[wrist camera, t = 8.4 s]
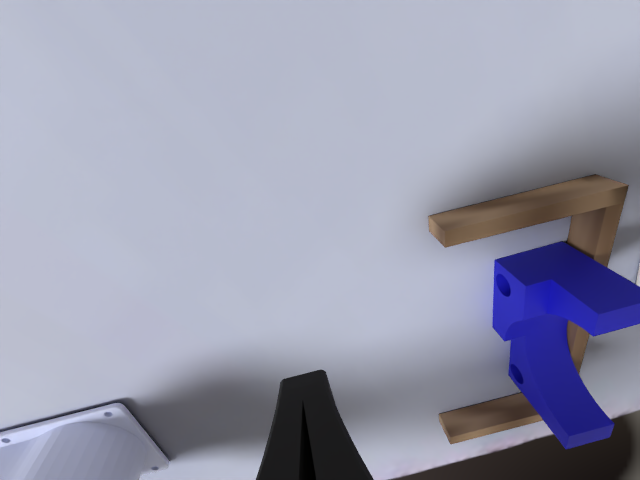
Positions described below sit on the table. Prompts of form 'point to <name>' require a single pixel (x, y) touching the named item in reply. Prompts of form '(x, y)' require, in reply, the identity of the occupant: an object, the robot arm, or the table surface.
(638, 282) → the ink cartridge box
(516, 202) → the frame
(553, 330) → the blue curved bracket
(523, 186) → the table surface
